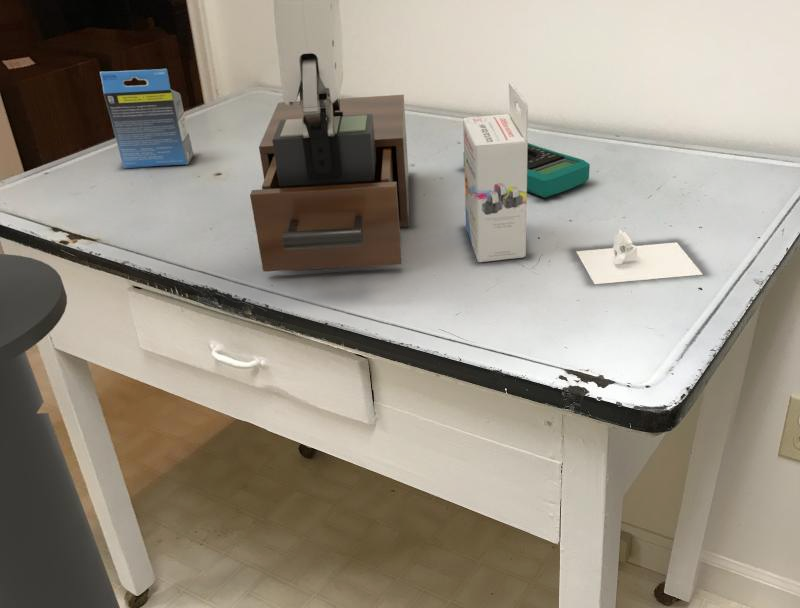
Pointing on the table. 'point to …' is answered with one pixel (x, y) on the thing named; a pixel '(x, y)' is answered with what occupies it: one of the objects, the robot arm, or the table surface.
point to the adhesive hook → (636, 261)
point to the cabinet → (386, 133)
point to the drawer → (329, 221)
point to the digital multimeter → (553, 171)
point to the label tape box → (147, 119)
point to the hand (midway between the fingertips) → (327, 163)
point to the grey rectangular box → (352, 144)
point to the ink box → (497, 181)
